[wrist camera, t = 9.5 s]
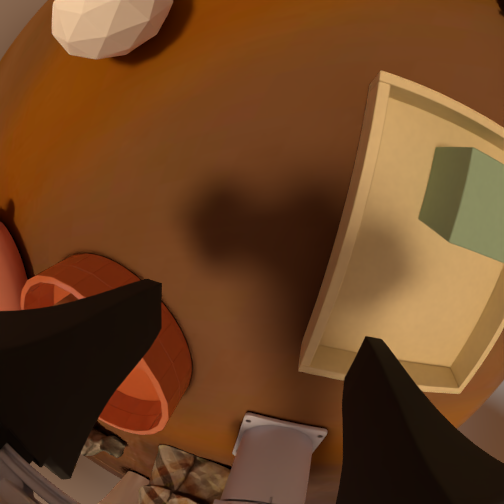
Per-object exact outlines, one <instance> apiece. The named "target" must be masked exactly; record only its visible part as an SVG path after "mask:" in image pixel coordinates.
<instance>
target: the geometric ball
mask: <svg viewBox="0 0 504 504" xmlns="http://www.w3.org/2000/svg"><path fill="white" fill-rule="evenodd" d="M172 4H173V0H55V1H54V3H53V10H52V34H53V36H54V37H55V38H56V39H57V40H58V42H59V43H60V44H61V45H62V46H63V48H64V49H65V50H66V51H67V52H68V54H69V55H74V56H80V57H86V58H91V59H102V58H108V57H115V56H122V55H127V54H128V53H130V52H131V51H132V50H134V49H135V48H137V47H138V46H140V45H141V44H143V43H144V42H146V41H147V40H149V39H150V38H152V37H154V36H155V35H157V33H158V31H159V30H160V28H161V26H162V24H163V22H164V21H165V19H166V17H167V15H168V13H169V11H170V8H171V6H172Z"/></svg>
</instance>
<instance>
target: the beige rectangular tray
mask: <svg viewBox="0 0 504 504" xmlns="http://www.w3.org/2000/svg"><path fill="white" fill-rule="evenodd" d="M436 147H474V148H476V149H478V150H480V151H481V152H483V153H485V154H487V155H489V156H490V157H492V158H494V159H496V160H497V161H499V162H501V163H502V164H504V128H503V127H501V126H500V125H498V124H497V123H495V122H493V121H492V120H490V119H488V118H487V117H485V116H483V115H482V114H480V113H478V112H476V111H475V110H473V109H471V108H469V107H467V106H465V105H463V104H461V103H460V102H458V101H456V100H454V99H451V98H449V97H447V96H445V95H443V94H441V93H439V92H436V91H434V90H432V89H430V88H427V87H425V86H423V85H420V84H418V83H415V82H413V81H410V80H407V79H405V78H402V77H399V76H396V75H394V74H391V73H388V72H385V71H380V72H379V73H378V74H377V76H376V77H375V78H374V80H373V81H372V82H371V83H370V85H369V91H368V97H367V103H366V109H365V114H364V120H363V125H362V130H361V135H360V140H359V145H358V150H357V155H356V159H355V164H354V168H353V173H352V177H351V181H350V185H349V189H348V193H347V197H346V201H345V205H344V209H343V213H342V217H341V220H340V224H339V228H338V231H337V235H336V239H335V242H334V246H333V249H332V252H331V256H330V259H329V262H328V266H327V269H326V272H325V275H324V279H323V282H322V285H321V288H320V291H319V294H318V297H317V300H316V303H315V306H314V309H313V312H312V315H311V318H310V321H309V323H308V326H307V329H306V332H305V335H304V337H303V340H302V343H301V351H300V358H299V366H298V371H300V372H304V373H309V374H313V375H318V376H323V377H328V378H333V379H338V380H343V381H344V378H345V376H346V374H347V372H348V370H349V368H350V366H351V365H352V363H353V361H354V359H355V357H356V355H357V353H358V351H359V349H360V347H361V345H362V342H363V340H364V338H365V336H369V337H374V338H379V339H382V340H383V341H384V342H385V343H386V345H387V346H388V347H389V348H390V350H391V351H392V352H393V354H394V355H395V356H396V358H397V359H398V361H399V362H400V363H401V365H402V366H403V367H404V369H405V370H406V371H407V373H408V374H409V375H410V377H411V378H412V379H413V381H414V382H415V383H416V385H417V386H418V387H419V388H420V390H421V391H424V392H437V393H453V394H460V393H461V392H462V390H463V388H465V386H466V385H467V384H468V382H469V381H470V380H471V378H472V377H473V376H474V374H475V373H476V371H477V370H478V369H479V367H480V366H481V364H482V363H483V361H484V360H485V358H486V357H487V355H488V354H489V352H490V350H491V349H492V347H493V345H494V344H495V342H496V341H497V339H498V337H499V335H500V334H501V332H502V330H503V328H504V263H502V262H499V261H497V260H494V259H492V258H489V257H486V256H484V255H481V254H479V253H476V252H473V251H471V250H468V249H465V248H463V247H460V246H457V245H454V244H451V243H449V242H448V241H446V240H445V239H444V238H443V237H441V236H440V235H439V234H437V233H436V232H435V231H433V230H432V229H431V228H429V227H428V226H427V225H425V224H424V223H423V222H421V221H420V220H419V219H418V218H419V214H420V211H421V207H422V204H423V200H424V197H425V193H426V189H427V185H428V181H429V177H430V172H431V168H432V163H433V159H434V154H435V149H436Z"/></svg>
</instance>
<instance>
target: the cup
mask: <svg viewBox="0 0 504 504" xmlns="http://www.w3.org/2000/svg"><path fill="white" fill-rule="evenodd" d="M148 484H149V480H148V479H146V478H144V477H143V476H141V475H139V474H137V473H134V472H131V471H128V472H127V473H126V474H125V476H124V477H123V478H122V479H121V480H120V481H119V482H118V483H117V485H116V486H115V487H114V488H113V489H112V490H111V491H110V492H109V493H108V495H107V496H106V497H105V498H104V499H103V500H102V501H100V502H99V503H98V504H139V501H138V499H139V492H138V491H139V489H140V487H141V486H143V485H148Z"/></svg>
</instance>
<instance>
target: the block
mask: <svg viewBox="0 0 504 504" xmlns="http://www.w3.org/2000/svg"><path fill="white" fill-rule="evenodd" d="M418 219H419V220H420V221H421V222H423V223H424V224H425V225H427V226H428V227H429V228H431V229H432V230H433V231H435V232H436V233H437V234H439V235H440V236H441V237H443V238H444V239H445V240H446V241H448V242H449V243H451V244H454V245H457V246H460V247H463V248H465V249H468V250H471V251H473V252H476V253H479V254H481V255H484V256H486V257H489V258H492V259H494V260H497V261H499V262H502V263H504V164H502V163H501V162H499V161H497V160H496V159H494V158H492V157H490V156H489V155H487V154H485V153H483V152H481V151H480V150H478V149H476V148H474V147H436V149H435V154H434V159H433V163H432V168H431V172H430V177H429V181H428V185H427V189H426V193H425V197H424V200H423V204H422V207H421V211H420V214H419V218H418Z"/></svg>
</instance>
